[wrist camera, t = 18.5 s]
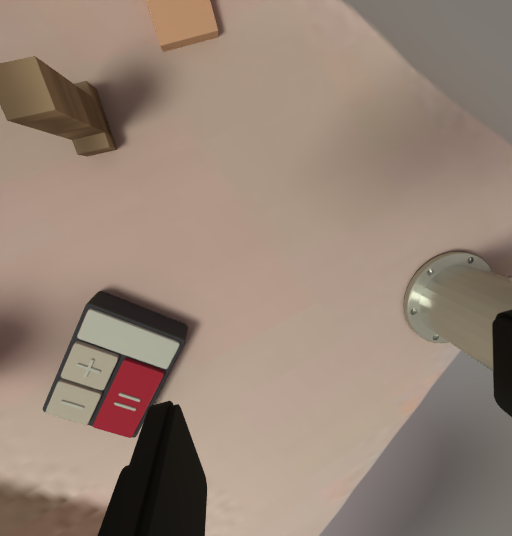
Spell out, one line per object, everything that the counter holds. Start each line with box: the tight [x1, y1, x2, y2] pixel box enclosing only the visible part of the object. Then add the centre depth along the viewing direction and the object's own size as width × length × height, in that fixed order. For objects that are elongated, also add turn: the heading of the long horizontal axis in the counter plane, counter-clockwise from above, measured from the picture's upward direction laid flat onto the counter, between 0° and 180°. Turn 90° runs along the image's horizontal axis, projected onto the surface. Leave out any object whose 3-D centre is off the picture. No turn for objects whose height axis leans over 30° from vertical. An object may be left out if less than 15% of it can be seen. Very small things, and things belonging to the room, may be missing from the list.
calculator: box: [43, 291, 188, 438], centre depth 36 cm, size 11×4×15 cm
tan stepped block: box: [0, 56, 117, 156], centre depth 25 cm, size 3×6×12 cm, turn 13°
